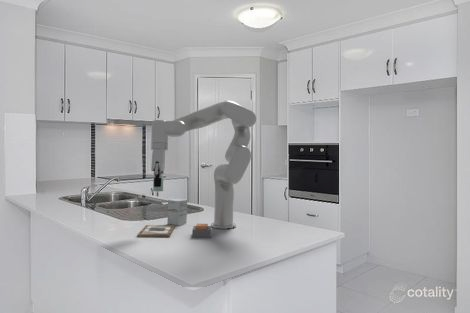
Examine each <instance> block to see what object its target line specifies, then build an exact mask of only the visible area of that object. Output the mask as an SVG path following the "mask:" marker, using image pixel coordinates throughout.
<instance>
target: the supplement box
mask: <svg viewBox="0 0 470 313" xmlns="http://www.w3.org/2000/svg"><path fill="white" fill-rule="evenodd" d="M187 213H188V199H184V198H183V199H182V198H171V199H168V200H167V224H166V225H175V226H178V227H179V226H183V225H186V224H187V218H188V216H187V215H188V214H187ZM185 223H186V224H185ZM182 224H183V225H182Z"/></svg>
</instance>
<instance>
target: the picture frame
mask: <svg viewBox="0 0 470 313" xmlns="http://www.w3.org/2000/svg"><path fill="white" fill-rule="evenodd" d="M175 228H176V225H172V224H165V225H162V224H157V225H156V224H145V226H144V227H143V228H142V229H141V230H140V231H139V232H138V233H137V235H136V238H170V237H171V235H172V234H173V232H174V230H175Z"/></svg>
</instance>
